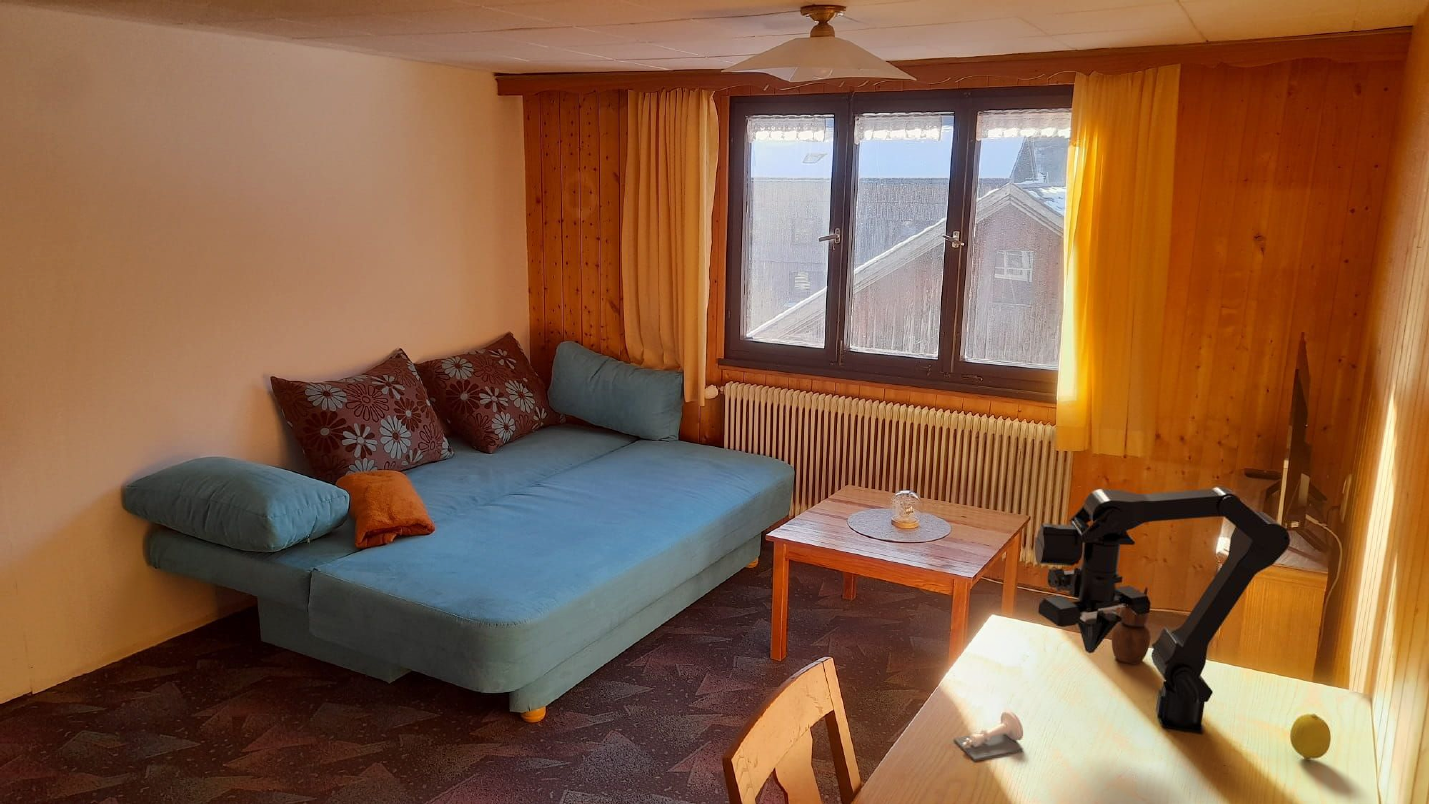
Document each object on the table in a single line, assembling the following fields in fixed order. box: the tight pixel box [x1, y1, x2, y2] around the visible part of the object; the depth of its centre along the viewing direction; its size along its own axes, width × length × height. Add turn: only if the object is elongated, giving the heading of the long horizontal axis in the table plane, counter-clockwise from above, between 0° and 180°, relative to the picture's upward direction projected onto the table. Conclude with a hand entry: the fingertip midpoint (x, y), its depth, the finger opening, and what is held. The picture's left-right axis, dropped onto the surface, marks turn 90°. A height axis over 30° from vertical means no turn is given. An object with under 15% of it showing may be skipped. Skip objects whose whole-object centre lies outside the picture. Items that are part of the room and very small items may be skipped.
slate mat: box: [953, 732, 1023, 762], centre depth 164 cm, size 9×6×1 cm, turn 109°
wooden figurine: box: [1110, 587, 1152, 665], centre depth 192 cm, size 7×6×15 cm
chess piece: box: [962, 709, 1024, 748], centre depth 164 cm, size 5×5×10 cm
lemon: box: [1289, 713, 1332, 761], centre depth 161 cm, size 6×6×8 cm
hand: (1089, 651), depth 171 cm, fingers closed
